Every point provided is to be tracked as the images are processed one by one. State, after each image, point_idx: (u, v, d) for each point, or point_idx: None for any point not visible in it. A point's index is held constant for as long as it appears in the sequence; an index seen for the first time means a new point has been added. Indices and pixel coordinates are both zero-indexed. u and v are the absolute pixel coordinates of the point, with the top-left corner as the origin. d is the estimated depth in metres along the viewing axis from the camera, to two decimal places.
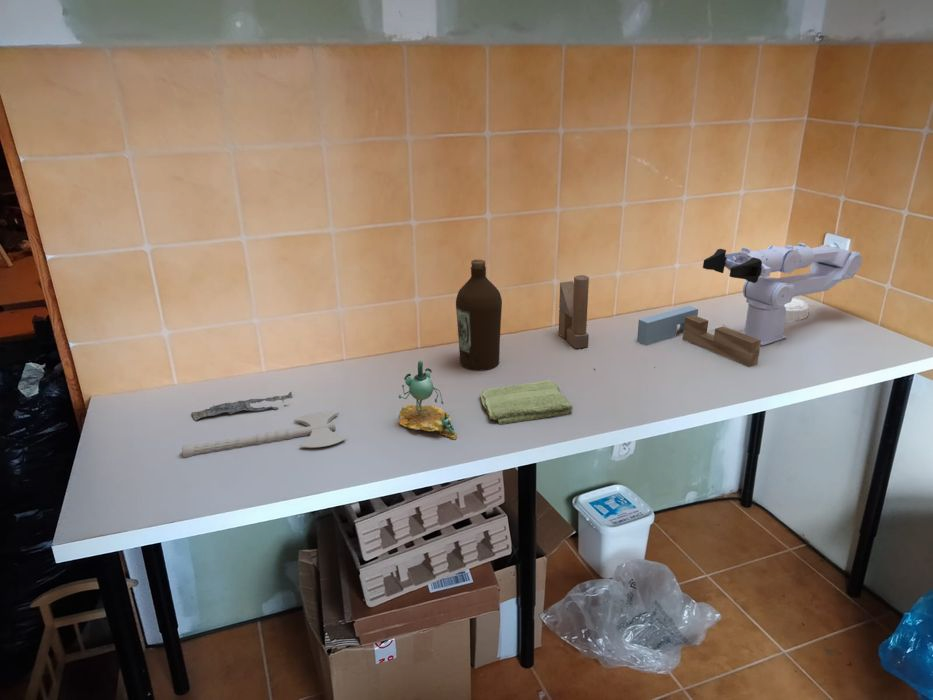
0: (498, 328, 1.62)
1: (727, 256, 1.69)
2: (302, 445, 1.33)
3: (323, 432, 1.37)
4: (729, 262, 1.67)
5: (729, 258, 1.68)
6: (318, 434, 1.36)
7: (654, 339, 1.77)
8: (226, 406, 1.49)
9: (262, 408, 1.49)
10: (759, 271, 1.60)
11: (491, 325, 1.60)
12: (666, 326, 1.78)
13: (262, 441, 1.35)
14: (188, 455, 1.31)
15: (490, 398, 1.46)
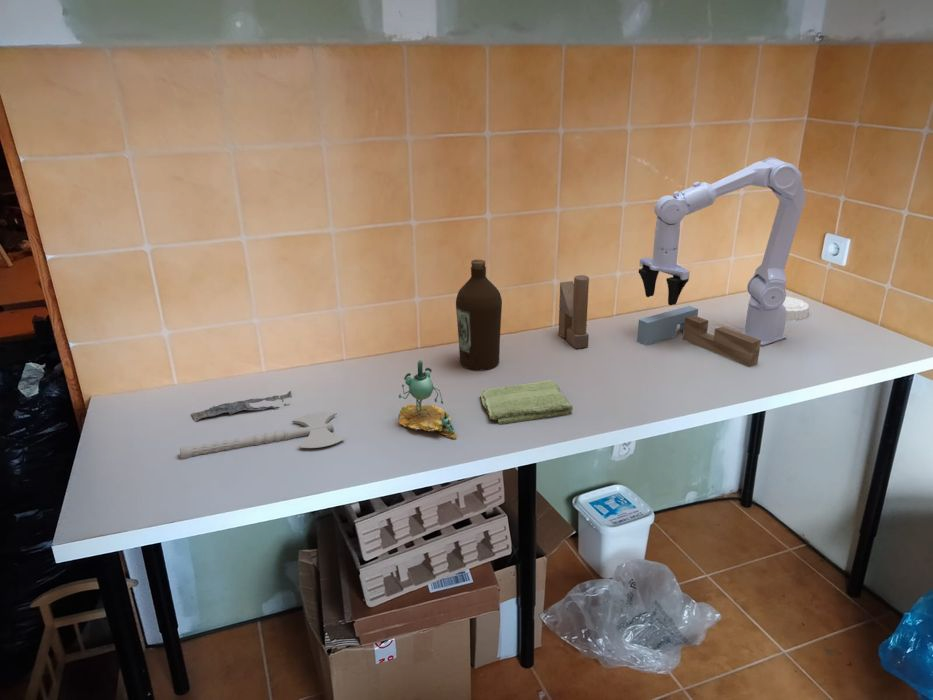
0: (498, 328, 1.62)
1: None
2: (301, 446, 1.33)
3: (321, 433, 1.37)
4: None
5: None
6: (316, 434, 1.36)
7: (654, 339, 1.77)
8: (226, 406, 1.49)
9: (262, 408, 1.49)
10: (681, 280, 1.68)
11: (491, 325, 1.60)
12: (666, 326, 1.78)
13: (260, 442, 1.35)
14: (186, 456, 1.31)
15: (490, 398, 1.46)
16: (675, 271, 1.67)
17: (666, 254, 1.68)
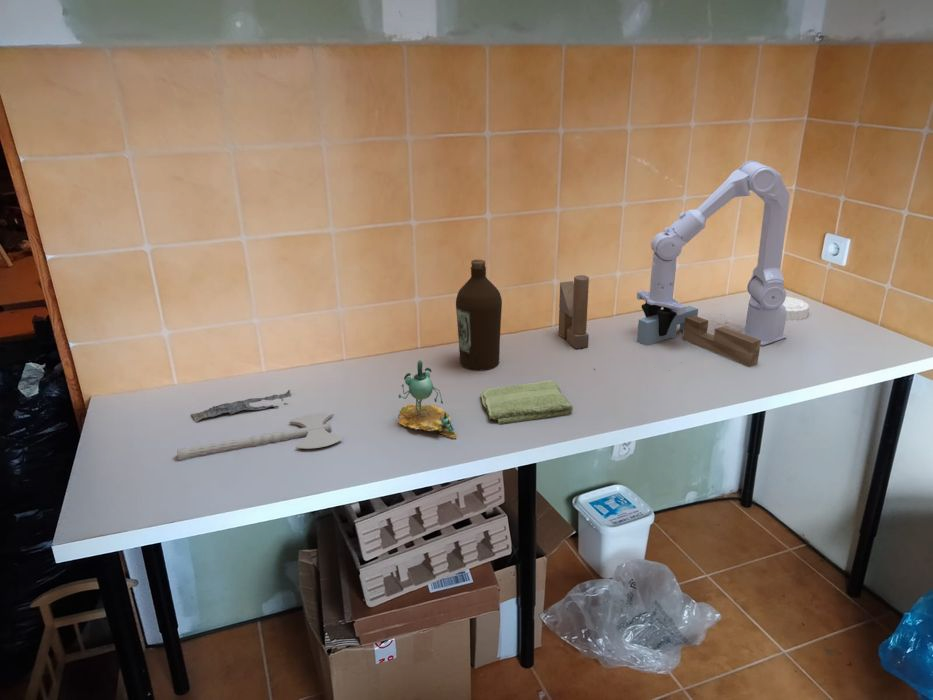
0: (498, 328, 1.62)
1: None
2: (299, 446, 1.33)
3: (319, 433, 1.36)
4: None
5: None
6: (314, 435, 1.36)
7: (654, 339, 1.77)
8: (225, 406, 1.49)
9: (262, 407, 1.49)
10: (671, 312, 1.73)
11: (491, 325, 1.60)
12: None
13: (258, 443, 1.35)
14: (183, 458, 1.30)
15: (490, 398, 1.47)
16: (671, 306, 1.71)
17: (663, 289, 1.72)
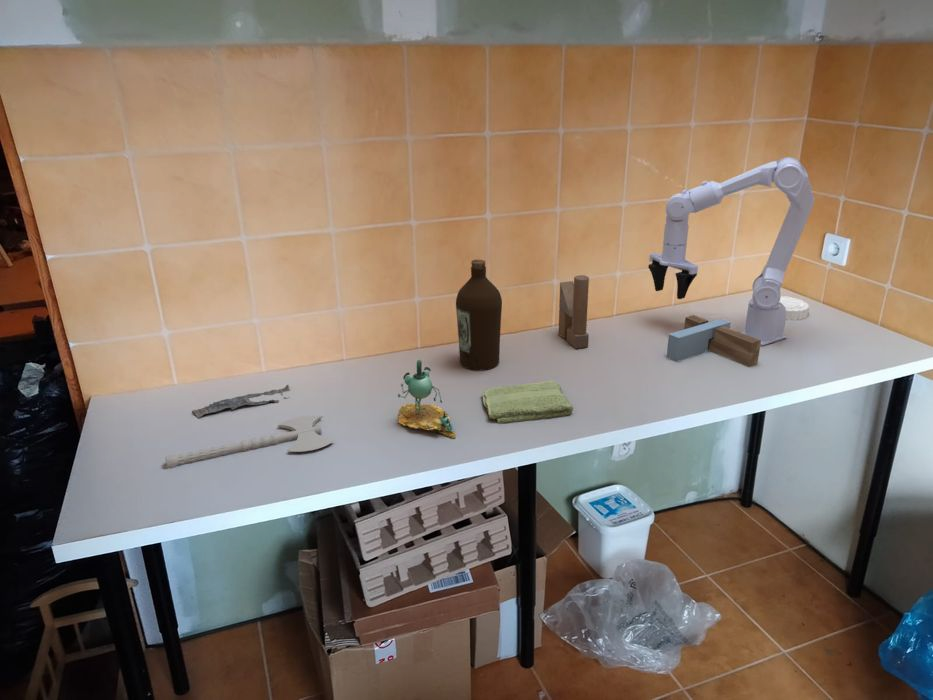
0: (498, 328, 1.62)
1: None
2: (290, 450, 1.32)
3: (309, 436, 1.36)
4: None
5: None
6: (305, 438, 1.35)
7: (685, 355, 1.68)
8: (226, 402, 1.51)
9: (263, 402, 1.51)
10: (690, 274, 1.75)
11: (491, 325, 1.60)
12: (698, 340, 1.69)
13: (248, 448, 1.33)
14: (172, 465, 1.28)
15: (491, 397, 1.47)
16: (684, 266, 1.75)
17: (675, 250, 1.75)
